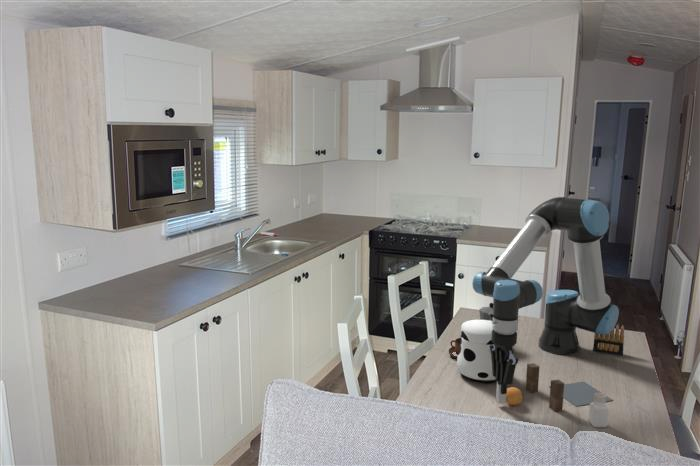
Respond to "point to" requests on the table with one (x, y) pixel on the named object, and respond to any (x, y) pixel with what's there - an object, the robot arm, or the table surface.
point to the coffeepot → (486, 312)
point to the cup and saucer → (455, 347)
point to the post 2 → (556, 395)
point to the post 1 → (532, 378)
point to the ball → (513, 396)
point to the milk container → (476, 350)
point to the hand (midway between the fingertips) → (500, 401)
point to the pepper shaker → (598, 411)
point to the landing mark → (580, 393)
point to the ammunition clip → (610, 342)
